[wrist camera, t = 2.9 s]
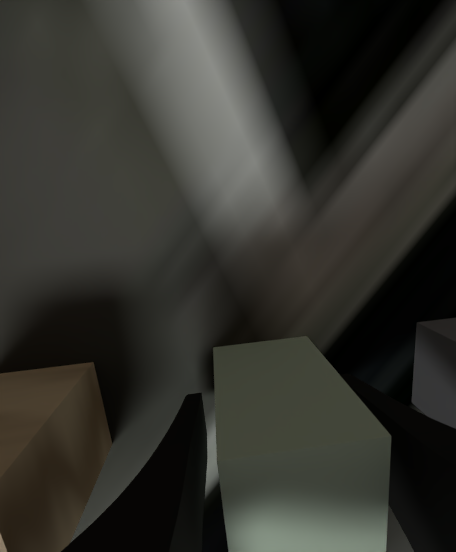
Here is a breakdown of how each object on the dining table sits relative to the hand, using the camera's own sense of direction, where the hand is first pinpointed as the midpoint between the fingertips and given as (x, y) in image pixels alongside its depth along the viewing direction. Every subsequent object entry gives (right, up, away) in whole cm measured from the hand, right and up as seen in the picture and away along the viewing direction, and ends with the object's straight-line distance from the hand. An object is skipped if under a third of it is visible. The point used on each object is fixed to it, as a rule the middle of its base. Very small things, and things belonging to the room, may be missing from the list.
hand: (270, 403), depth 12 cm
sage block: (0, 0, +1) cm, 2 cm away
